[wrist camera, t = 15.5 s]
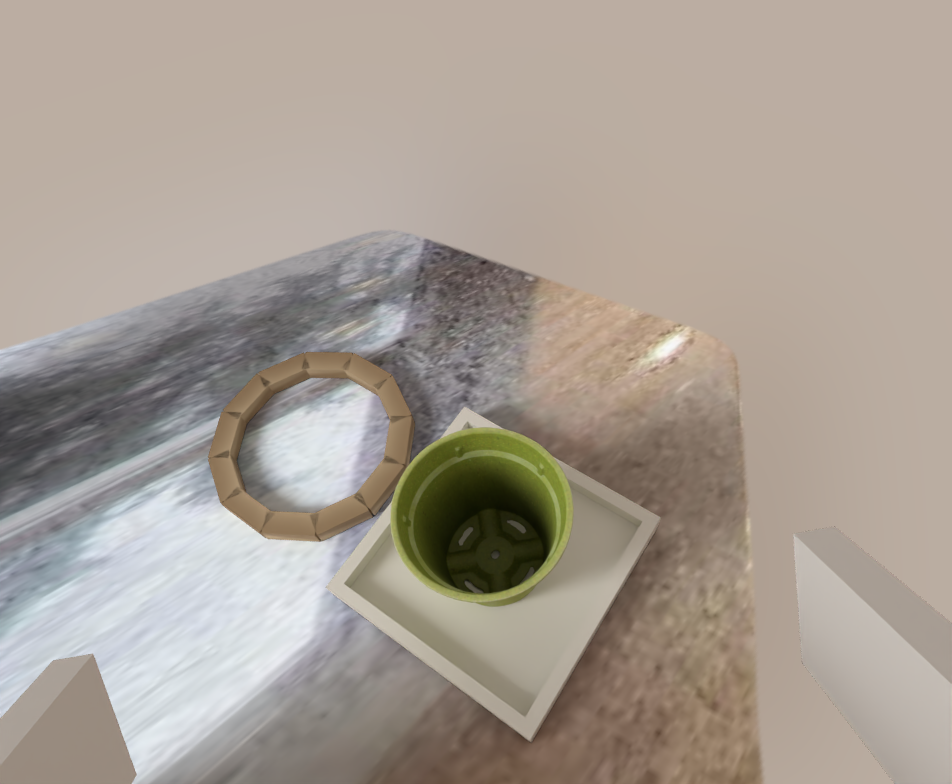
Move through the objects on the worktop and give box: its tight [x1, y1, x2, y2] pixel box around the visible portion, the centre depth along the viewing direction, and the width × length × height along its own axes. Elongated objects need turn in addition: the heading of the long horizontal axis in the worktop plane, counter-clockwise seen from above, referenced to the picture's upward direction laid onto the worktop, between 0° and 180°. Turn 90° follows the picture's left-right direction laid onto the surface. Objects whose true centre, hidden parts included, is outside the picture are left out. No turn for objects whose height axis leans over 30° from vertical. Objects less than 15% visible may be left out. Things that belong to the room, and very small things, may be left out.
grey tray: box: [326, 407, 661, 743], centre depth 43 cm, size 15×15×2 cm
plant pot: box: [390, 427, 574, 607], centre depth 39 cm, size 9×9×9 cm
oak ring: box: [208, 352, 415, 542], centre depth 49 cm, size 14×14×1 cm
